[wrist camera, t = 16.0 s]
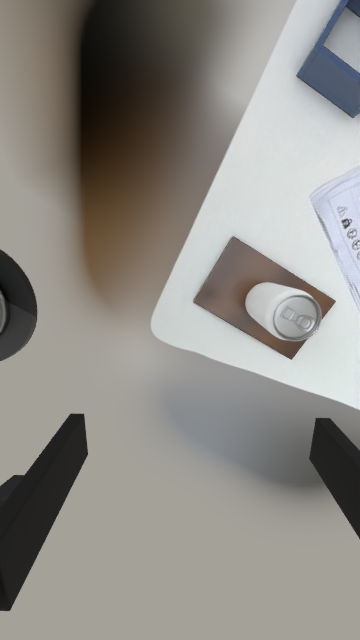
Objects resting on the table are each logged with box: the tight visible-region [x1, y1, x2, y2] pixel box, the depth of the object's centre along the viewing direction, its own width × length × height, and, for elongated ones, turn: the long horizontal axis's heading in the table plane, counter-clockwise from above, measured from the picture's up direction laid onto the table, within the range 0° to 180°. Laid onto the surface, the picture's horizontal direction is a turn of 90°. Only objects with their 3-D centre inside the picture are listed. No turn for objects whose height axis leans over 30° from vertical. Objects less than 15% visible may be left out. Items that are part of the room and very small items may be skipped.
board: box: [193, 236, 336, 360], centre depth 40 cm, size 20×12×1 cm, turn 60°
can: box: [245, 282, 322, 341], centre depth 34 cm, size 6×6×12 cm
